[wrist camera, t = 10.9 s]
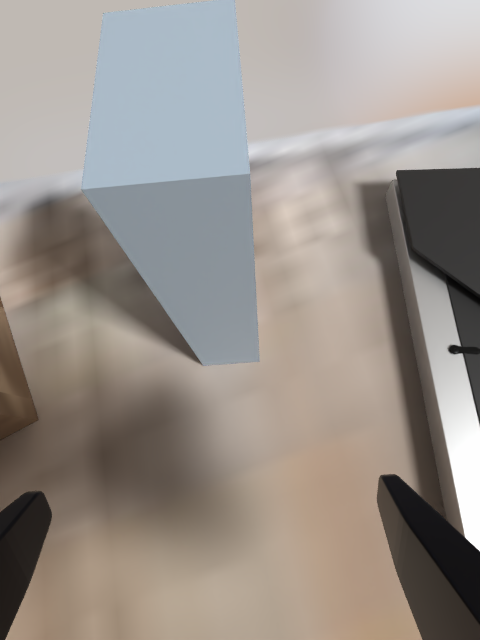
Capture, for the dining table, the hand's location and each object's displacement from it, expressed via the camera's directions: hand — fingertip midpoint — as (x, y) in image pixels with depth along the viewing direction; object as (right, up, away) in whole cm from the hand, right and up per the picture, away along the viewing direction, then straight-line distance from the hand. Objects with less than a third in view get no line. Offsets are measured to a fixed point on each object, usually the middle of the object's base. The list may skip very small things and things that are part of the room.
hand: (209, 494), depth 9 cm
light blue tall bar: (0, +5, +10) cm, 11 cm away
